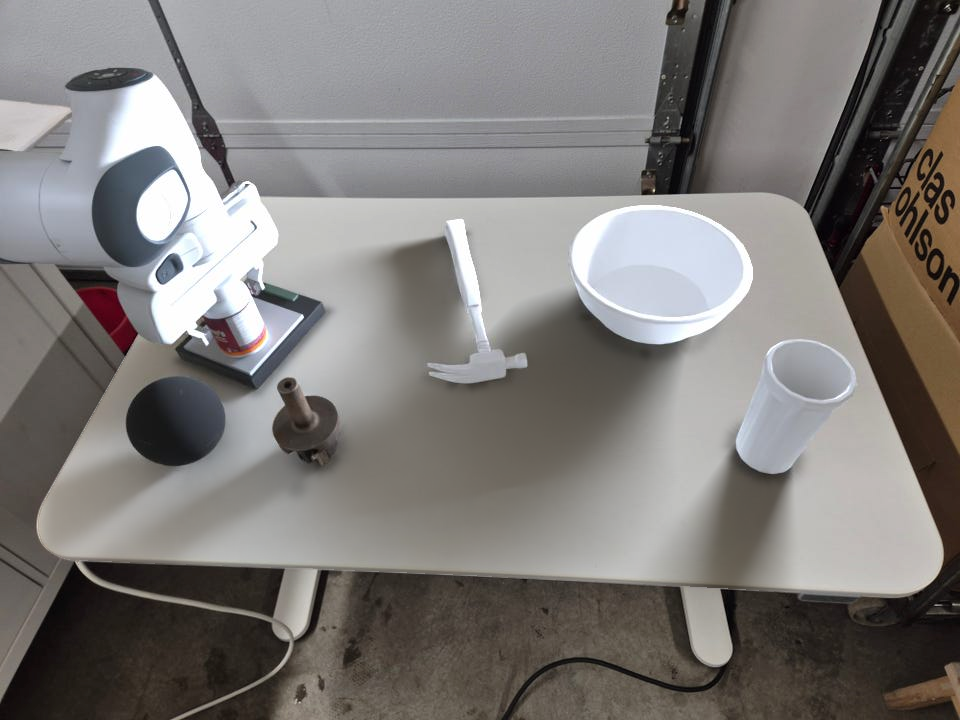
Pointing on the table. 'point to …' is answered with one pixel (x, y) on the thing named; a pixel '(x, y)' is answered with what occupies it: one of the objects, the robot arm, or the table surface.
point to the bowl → (658, 272)
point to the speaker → (175, 421)
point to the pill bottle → (235, 319)
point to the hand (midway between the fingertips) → (232, 315)
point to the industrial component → (306, 424)
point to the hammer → (473, 320)
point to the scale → (285, 328)
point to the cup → (792, 402)
